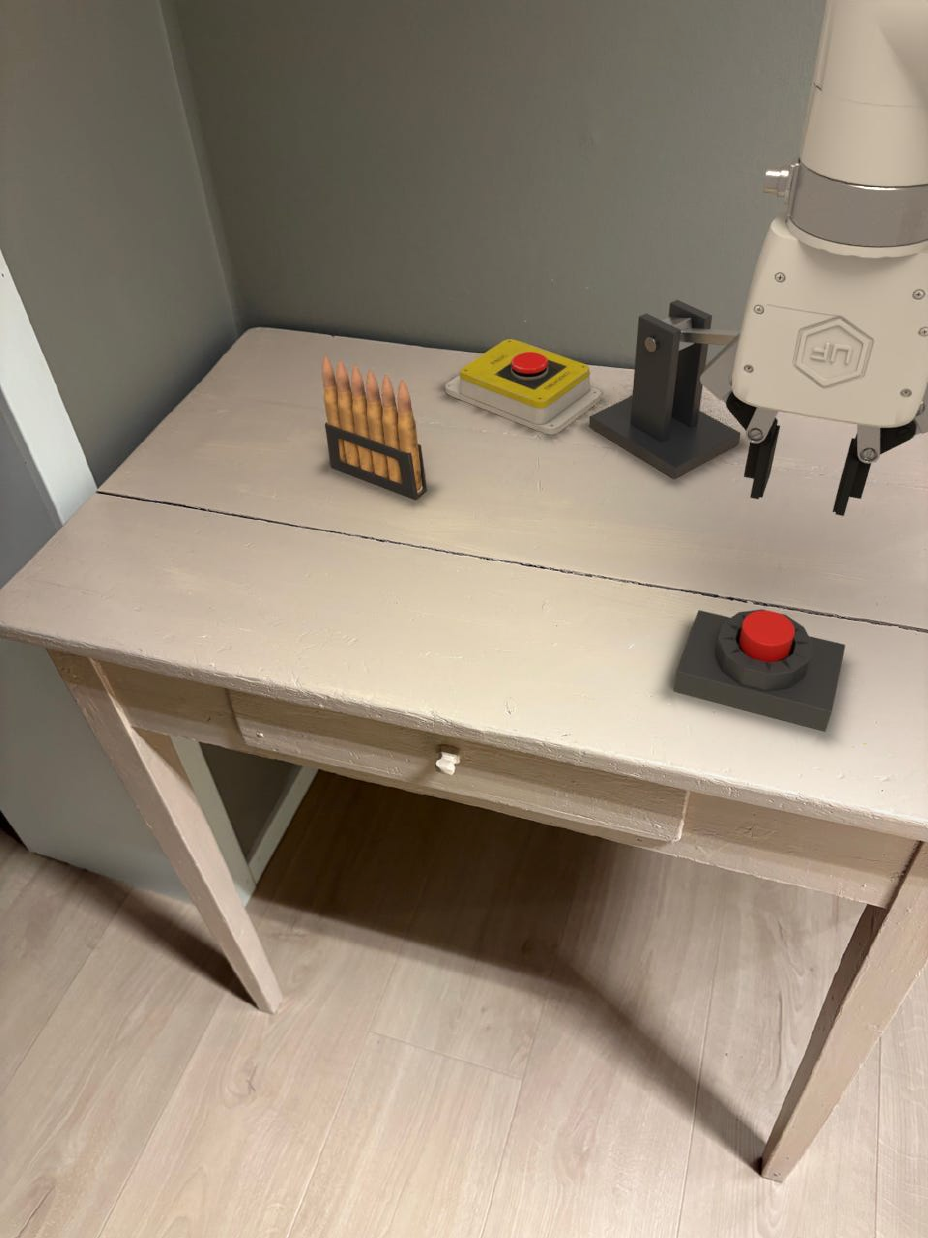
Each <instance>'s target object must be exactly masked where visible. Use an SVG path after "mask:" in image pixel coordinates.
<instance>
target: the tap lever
mask: <svg viewBox="0 0 928 1238" xmlns="http://www.w3.org/2000/svg"><path fill="white" fill-rule="evenodd" d="M661 321H663V322H665V323H668V324H670V325H672V326H674V327H676V328H678V329H680V330H681V335H680V344H679V351H680V350H682V349H684V348H686V347H688V346H690V345H693V344H694V343H700V344H708V345H714V346H715V345H716V346H724V347H726V346H727V345H728V344H729V343H730V342H731V341H732V340H733V339H734V338H735V337H736V336H737V335H738V334H739V333H740V331H741V330H731V329H729V330H728V329H716V328H715V329H714V328H713V329H712V328H711V329H699V328H692V321H691V318H678V317H669V316H668V317H666V318H663V319H662V320H661Z"/></svg>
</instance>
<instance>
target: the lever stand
mask: <svg viewBox="0 0 928 1238" xmlns="http://www.w3.org/2000/svg"><path fill="white" fill-rule="evenodd" d="M668 307H669V309H668V317H678V318H691V321H692V328H699V329H712V328H711V327H712V321H713V315H712V314H709V313H708V312H705V311H703V310H701V309H699V308H697V307H695V306H692V305H690V304H688V303H686V302H684V301H681V300H679V299H675V300H673V301H671V302H669V306H668ZM680 335H681V330H680V329H678V328H676V327H674V326H672V325H670V324H668V323H665V322H663V321H662V320H661V319H660V318H657V317H655V316H652V315H651V314H649V313H647V312H646V313H643V314H641V315H639V316H638V320H637V334H636V347H635V360H634V372H633V374H634V375H633V384H632V395H631V396H629V397H626V398H624V399H622V400H620V401H618V402H615V403H614V404H612V405H609V406H608V407H605V408H604V409H602V410H600V411H598V412H595V413H593V414H591V415H589V419H588V420H589V422H588V427H589V428H590V429H592V430H593V431H595V432H597V433H598V434H600V435H601V436H603V437H605V438H606V439H608V440H610V441H611V442H613V443H615V444H616V445H618V446H619V447H621V448H622V449H624V450H626V451H627V452H629V453H631V454H632V455H634V456H635V457H637V458H639V459H641V460H643V461H644V462H646V464H649V465H651V466H652V467H654V468H656V469H657V470H658V471H660V472H662V473H663V474H665V475H667V476H669V477H670V478H672V480H673V479H674V480H675V479H677V478H679V477H681V476H683V475H685V474H686V473H688V472H690V471H692V470H694V469H696V468H698V467H699V466H701V465H703V464H704V463H706V462H709V461H710V460H712V459H715V457H717V456H719V455H722V454H723V453H725V452H726V451H729V450H731V449H732V448H734V447H735V446H737V445H739V444H740V441H741V431H738V430H736V429H735V428H733V427H731V426H729V425H727V424H725V423H723V422H721V421H719V420H718V419H716V418H715V417H712V416H711V415H709V414H707V413H705V412H703V411H701V410H700V409H701V404H702V403H701V402H702V395H703V387H704V386H703V385H702V384H701V382H700V376H701V374H702V372H703V370H704V368H705V366H706V365H707V357H708V351H709V344H700V343H694V344H693V345H690V346H688V347H686V348H684V349H682V350H680V351H679V344H680Z"/></svg>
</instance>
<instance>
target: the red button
mask: <svg viewBox="0 0 928 1238" xmlns="http://www.w3.org/2000/svg"><path fill="white" fill-rule="evenodd" d="M782 614H783V613H780V612H778V611H773V610H767V609H763V611H756V612H753V613H751V614H749V615H748V616H747V617H746V618H745V619H744V621H743V625H742V630H741V635H740V640H739V643H740V647H741V649H742V650H743V651H744V653H745V654H747V655H748V656H749V657H751V658H753V659H757V660H761V661H765V662H775V661H779V660H782V659H783V658H785V657H786V656H787V655H788V654H789V652H790V649H791V645H792V641H793V637H794V633H795V629H794V626H793V624H792V622H791V621H790V620H789V619H788V618H786V617H785V616H783V615H782Z"/></svg>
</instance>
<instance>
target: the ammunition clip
mask: <svg viewBox="0 0 928 1238" xmlns="http://www.w3.org/2000/svg"><path fill="white" fill-rule="evenodd" d="M332 365H333V364H332V363H331V361H330V359H329V358H328V355H323V357H322V362H321V379H322V386H323V403H324V410H325V416H326V422H325V423H324V430H325V436H326V443H327V450H328V456H329V457H328V458H329V465H330V468H331V469H333V470H337V471H339V472H341V473H344V474H346V475H349V476H352V477H355V478H357V479H359V480H362V481H364V482H367V483H370V484H372V485H375V486H378V487H380V488H383V489H386V490H388V491H391V492H393V493H396V494H399V495H401V496H403V497H406V498H409V499H411V500H413V501H416V500H418V499H419V498H420V497H421V496H422V495H423V494H425V493H427V491H428V487H427V479H426V472H425V465H424V458H423V457H424V456H423V450H422V444H420V443H419V441H418V433H417V432H418V431H417V423H416V420H415V417H414V411H413V408H412V400H411V395H410V391H409V389H408V387H407V384H406V382H405V381H404V380H403V379H401V380H400V381H399V384H398V387H397V388H398V389H397V400H396V395H395V389H394V386H393V384H392V381H391V379H390V377H389V376H388V374H384V376H383V378H382V383H381V392H380V388H379V384H378V381H377V378H376V376H375V374H374V372H373V370H372V369H368V371H367V375H366V379H365V383H364V379H363V376H362V374H361V371H360V369H359V368H358V366H357V365H356V364H354V365H353V366H352V369H351V375H350V378H349V373H348V370H347V368H346V366H345V364H344V362H343V360H341V359H339V360H338V361H337V365H336V374H335V370H334V368H333V366H332ZM380 393H381V394H380Z"/></svg>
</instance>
